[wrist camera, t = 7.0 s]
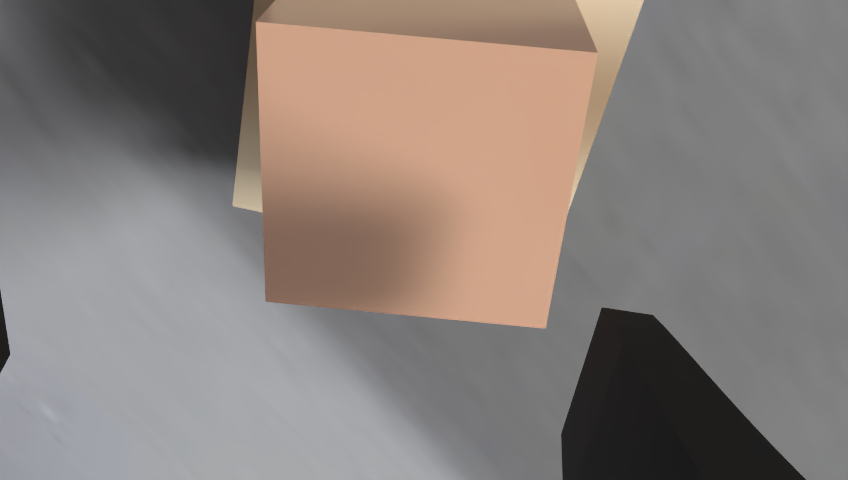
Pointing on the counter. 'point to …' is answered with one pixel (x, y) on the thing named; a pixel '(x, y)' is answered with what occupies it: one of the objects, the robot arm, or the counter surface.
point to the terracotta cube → (420, 153)
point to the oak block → (611, 31)
